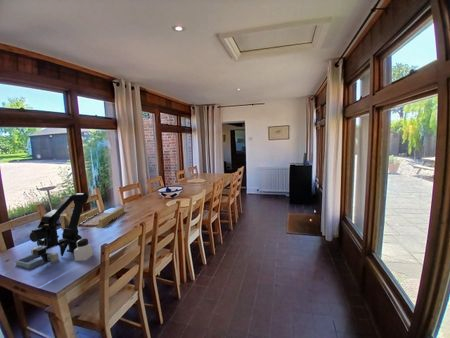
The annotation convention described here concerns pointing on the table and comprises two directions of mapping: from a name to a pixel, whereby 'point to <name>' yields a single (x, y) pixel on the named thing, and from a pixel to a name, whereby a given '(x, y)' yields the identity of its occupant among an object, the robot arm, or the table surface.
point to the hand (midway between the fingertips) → (54, 259)
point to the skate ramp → (102, 222)
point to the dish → (31, 261)
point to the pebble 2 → (54, 257)
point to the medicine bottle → (83, 250)
